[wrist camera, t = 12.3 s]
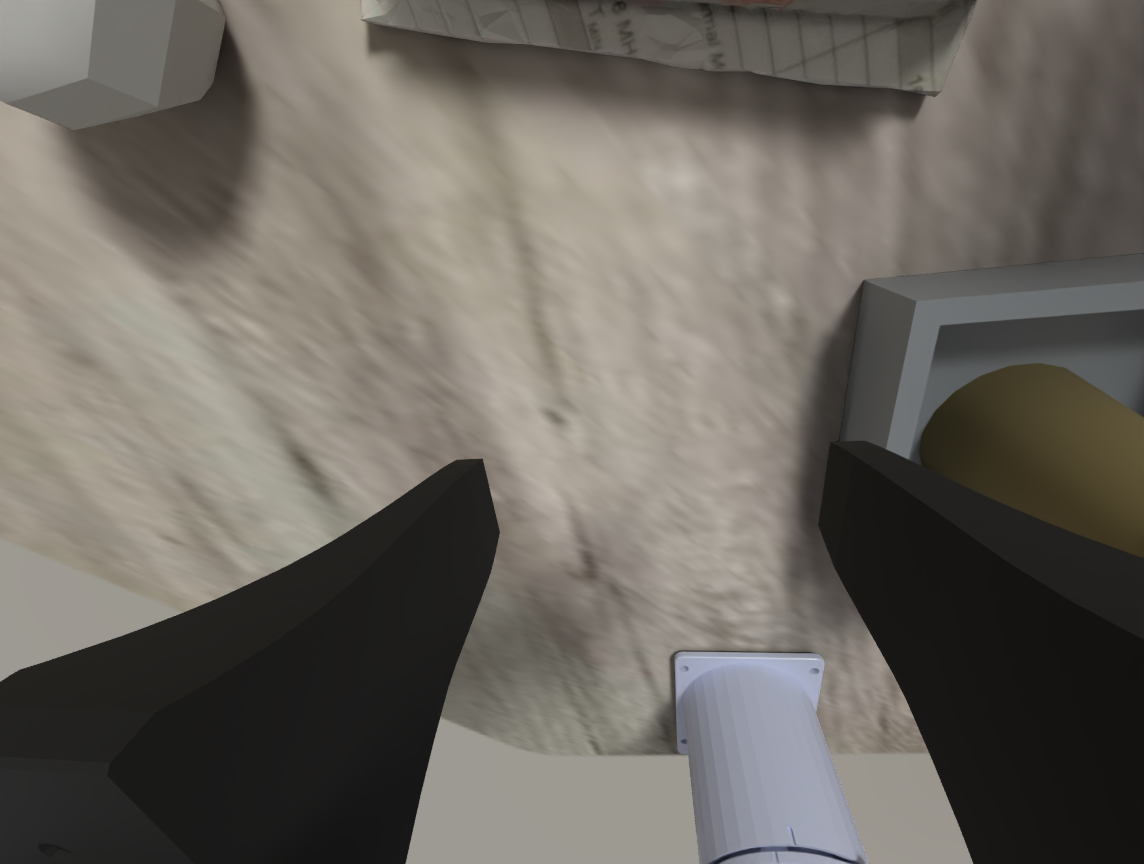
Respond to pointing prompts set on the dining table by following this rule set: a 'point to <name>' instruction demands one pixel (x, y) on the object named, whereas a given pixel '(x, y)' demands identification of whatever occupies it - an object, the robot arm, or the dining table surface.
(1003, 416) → the cork
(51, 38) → the apple
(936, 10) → the packaged product
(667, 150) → the dining table surface
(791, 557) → the dining table surface
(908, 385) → the tote
